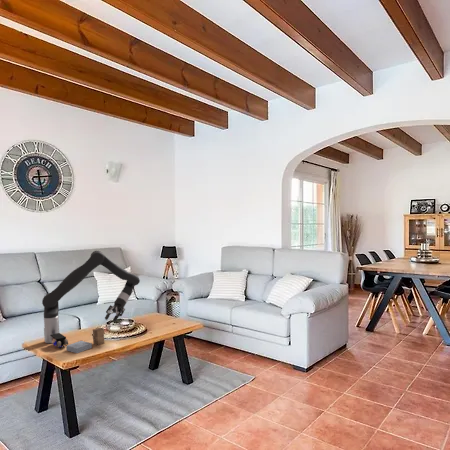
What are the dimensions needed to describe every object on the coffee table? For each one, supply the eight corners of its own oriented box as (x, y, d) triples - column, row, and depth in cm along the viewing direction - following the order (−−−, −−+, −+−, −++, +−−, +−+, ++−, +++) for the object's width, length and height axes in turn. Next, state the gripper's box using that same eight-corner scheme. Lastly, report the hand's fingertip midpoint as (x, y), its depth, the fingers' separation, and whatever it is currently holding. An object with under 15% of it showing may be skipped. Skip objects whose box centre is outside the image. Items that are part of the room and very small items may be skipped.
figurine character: (69, 349, 251) (59, 342, 261) (69, 338, 250) (59, 331, 260) (58, 352, 246) (49, 344, 256) (58, 341, 245) (49, 333, 255)
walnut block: (93, 344, 255) (92, 329, 254) (99, 342, 259) (98, 327, 259) (98, 345, 252) (97, 330, 252) (104, 343, 256) (103, 328, 256)
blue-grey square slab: (66, 350, 245) (66, 345, 245) (81, 345, 254) (81, 340, 254) (77, 353, 239) (76, 348, 239) (91, 347, 248) (91, 343, 248)
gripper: (112, 296, 274) (99, 315, 265) (125, 298, 267) (113, 318, 257) (118, 302, 279) (106, 321, 270) (131, 303, 271) (120, 324, 262)
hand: (109, 320), depth 263 cm, fingers open, 8 cm apart
